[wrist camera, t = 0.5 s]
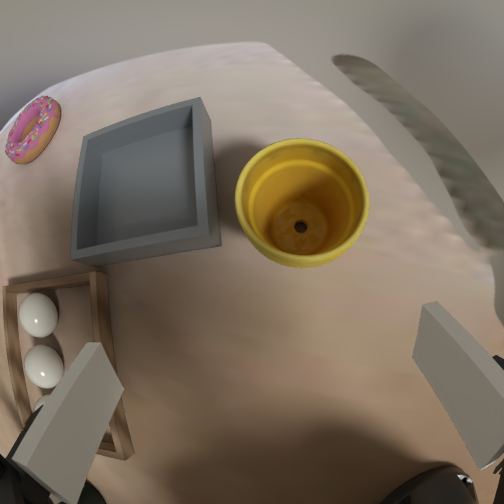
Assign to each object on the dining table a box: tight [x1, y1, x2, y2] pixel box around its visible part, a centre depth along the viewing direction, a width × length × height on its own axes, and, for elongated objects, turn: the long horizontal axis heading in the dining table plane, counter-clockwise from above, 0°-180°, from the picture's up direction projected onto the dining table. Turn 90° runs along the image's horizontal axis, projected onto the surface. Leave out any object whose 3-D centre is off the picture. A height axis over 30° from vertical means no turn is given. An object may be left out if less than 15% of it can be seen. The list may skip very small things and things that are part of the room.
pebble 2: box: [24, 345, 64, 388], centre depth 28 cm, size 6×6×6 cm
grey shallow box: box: [71, 97, 222, 267], centre depth 31 cm, size 17×17×5 cm
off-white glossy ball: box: [19, 293, 58, 337], centre depth 30 cm, size 6×6×6 cm
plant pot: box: [235, 138, 369, 268], centre depth 26 cm, size 10×10×10 cm
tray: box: [3, 271, 134, 460], centre depth 30 cm, size 24×22×2 cm
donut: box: [5, 96, 61, 164], centre depth 39 cm, size 14×14×5 cm
